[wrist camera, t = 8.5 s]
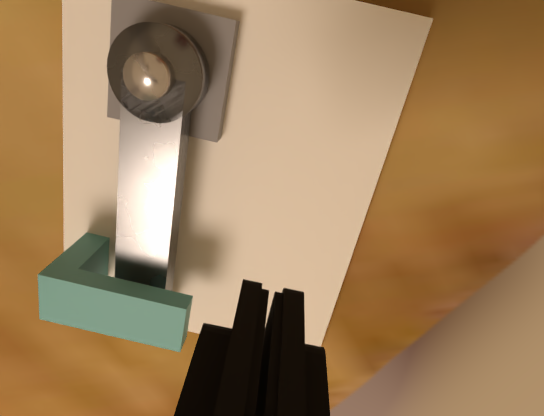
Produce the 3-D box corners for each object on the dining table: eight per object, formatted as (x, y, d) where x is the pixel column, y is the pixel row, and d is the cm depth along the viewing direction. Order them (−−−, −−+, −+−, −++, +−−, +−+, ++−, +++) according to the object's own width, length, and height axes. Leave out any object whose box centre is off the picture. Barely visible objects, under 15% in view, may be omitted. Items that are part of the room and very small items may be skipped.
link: (123, 14, 19) (96, 11, 16) (214, 33, 19) (200, 33, 16) (113, 310, 26) (93, 338, 24) (179, 325, 26) (165, 354, 24)
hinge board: (75, -63, 20) (-17, -101, 14) (426, 19, 20) (470, 12, 14) (73, 291, 29) (16, 353, 23) (315, 348, 29) (316, 423, 23)
